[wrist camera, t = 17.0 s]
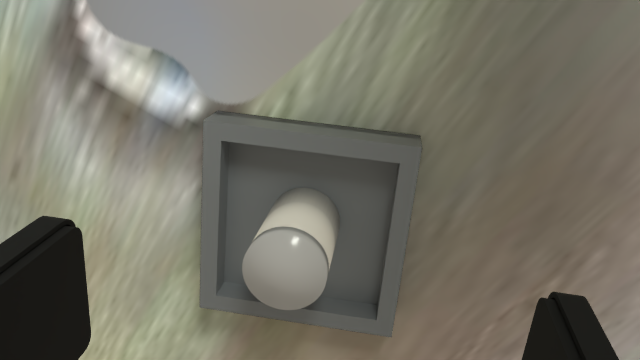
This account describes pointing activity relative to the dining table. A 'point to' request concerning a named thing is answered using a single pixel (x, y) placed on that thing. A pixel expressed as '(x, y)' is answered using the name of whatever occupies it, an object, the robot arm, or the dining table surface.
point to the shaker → (293, 250)
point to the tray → (322, 175)
